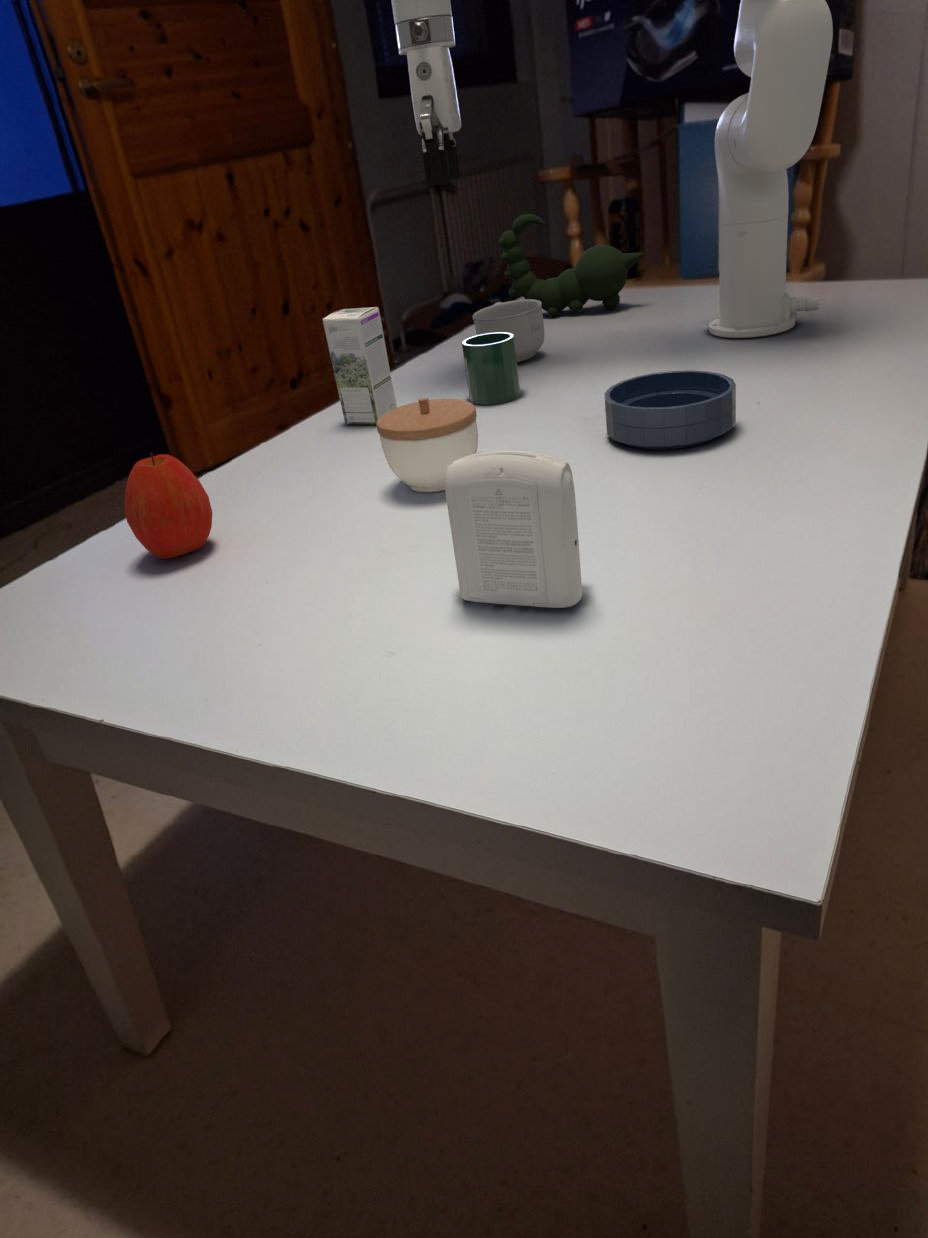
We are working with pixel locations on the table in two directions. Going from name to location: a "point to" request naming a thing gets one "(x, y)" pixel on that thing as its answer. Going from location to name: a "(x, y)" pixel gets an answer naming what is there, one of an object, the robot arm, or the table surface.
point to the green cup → (491, 368)
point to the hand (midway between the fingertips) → (444, 181)
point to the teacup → (514, 324)
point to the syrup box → (360, 364)
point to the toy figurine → (566, 274)
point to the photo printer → (514, 529)
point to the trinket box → (427, 440)
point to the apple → (167, 507)
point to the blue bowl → (670, 409)
